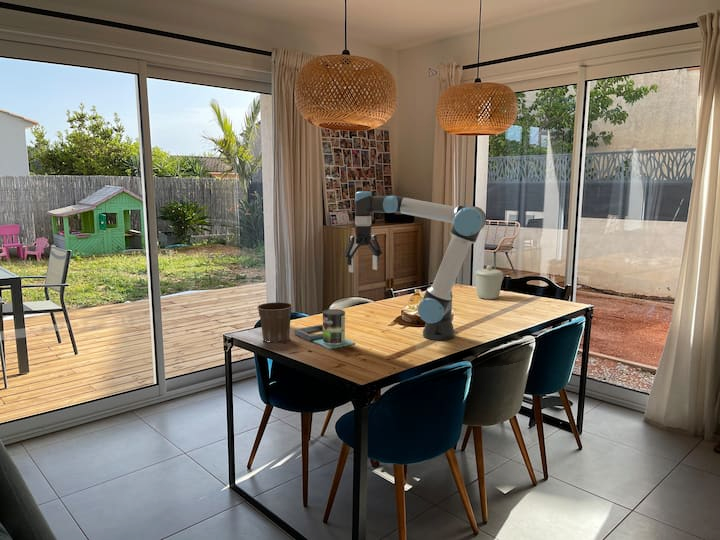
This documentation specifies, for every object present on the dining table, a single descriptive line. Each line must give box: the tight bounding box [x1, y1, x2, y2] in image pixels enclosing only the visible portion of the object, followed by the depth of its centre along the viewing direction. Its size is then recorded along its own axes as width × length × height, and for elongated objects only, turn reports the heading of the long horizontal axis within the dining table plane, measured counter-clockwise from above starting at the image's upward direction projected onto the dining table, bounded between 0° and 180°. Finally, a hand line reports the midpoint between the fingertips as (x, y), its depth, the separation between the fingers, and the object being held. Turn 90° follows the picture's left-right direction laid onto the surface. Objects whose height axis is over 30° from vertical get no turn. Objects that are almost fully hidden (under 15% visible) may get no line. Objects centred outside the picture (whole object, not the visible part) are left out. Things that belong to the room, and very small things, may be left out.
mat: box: [312, 338, 356, 350], centre depth 246 cm, size 14×14×1 cm
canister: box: [474, 264, 504, 300], centre depth 343 cm, size 18×18×21 cm
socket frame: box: [293, 324, 323, 343], centre depth 259 cm, size 15×15×2 cm
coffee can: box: [321, 308, 346, 345], centre depth 245 cm, size 10×10×14 cm
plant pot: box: [256, 301, 293, 343], centre depth 251 cm, size 16×16×16 cm
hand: (363, 270), depth 252 cm, fingers open, 13 cm apart
